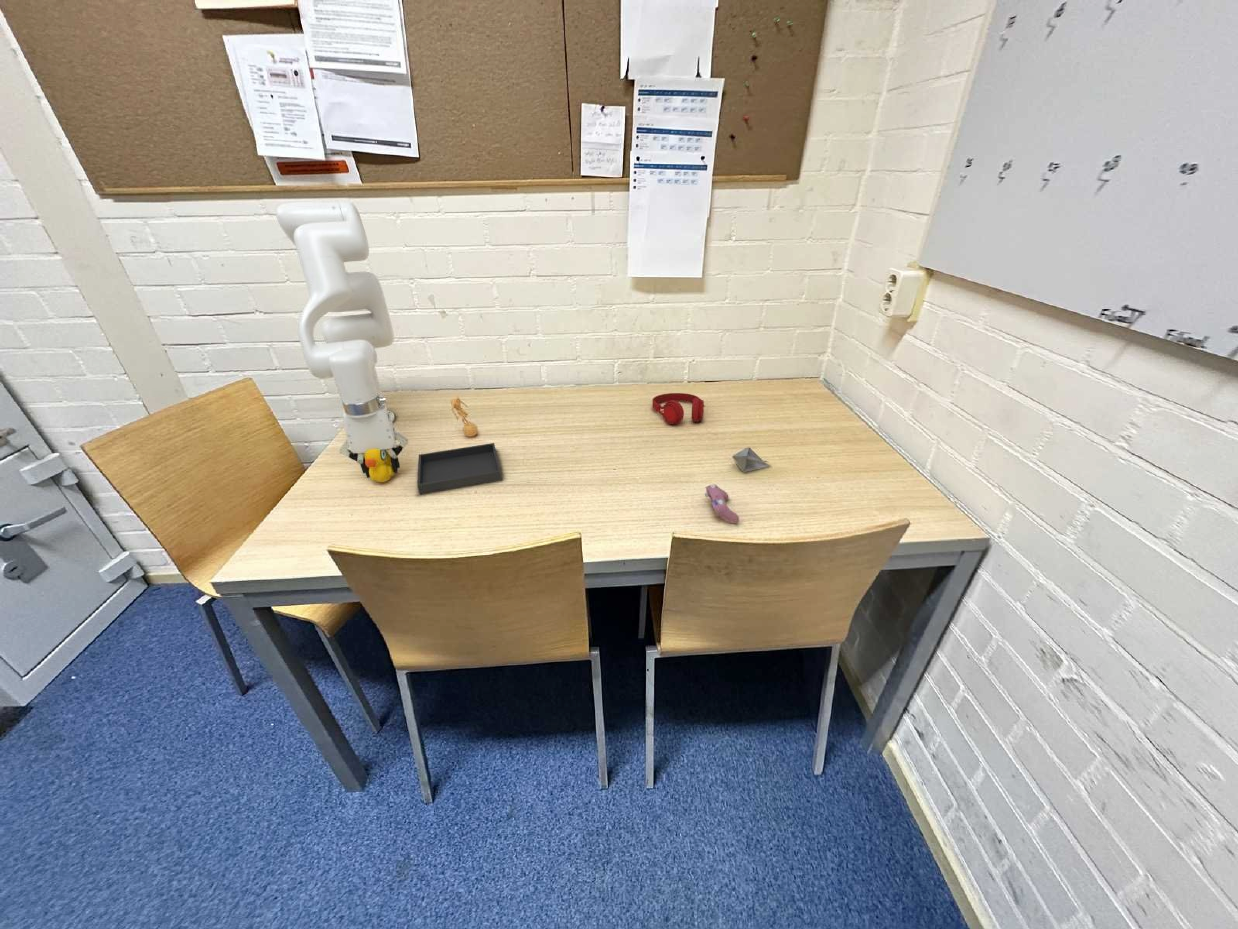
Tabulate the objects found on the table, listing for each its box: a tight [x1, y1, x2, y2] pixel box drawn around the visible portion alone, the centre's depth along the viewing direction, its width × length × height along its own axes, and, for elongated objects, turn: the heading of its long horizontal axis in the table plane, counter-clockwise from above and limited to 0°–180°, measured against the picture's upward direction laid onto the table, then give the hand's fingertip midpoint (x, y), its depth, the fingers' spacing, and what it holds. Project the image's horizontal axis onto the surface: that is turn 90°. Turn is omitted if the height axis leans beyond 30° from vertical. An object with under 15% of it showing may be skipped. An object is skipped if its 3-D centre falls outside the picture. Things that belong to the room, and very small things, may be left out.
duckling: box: [364, 449, 395, 483], centre depth 119 cm, size 11×5×10 cm, turn 4°
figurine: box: [449, 396, 478, 438], centre depth 138 cm, size 8×6×12 cm
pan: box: [416, 442, 503, 496], centre depth 124 cm, size 15×19×3 cm
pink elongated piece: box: [704, 483, 740, 524], centre depth 108 cm, size 10×5×7 cm, turn 5°
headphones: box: [651, 392, 706, 425], centre depth 152 cm, size 15×7×20 cm
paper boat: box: [731, 446, 769, 473], centre depth 122 cm, size 12×6×9 cm
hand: (382, 471), depth 121 cm, fingers closed on duckling, 5 cm apart
